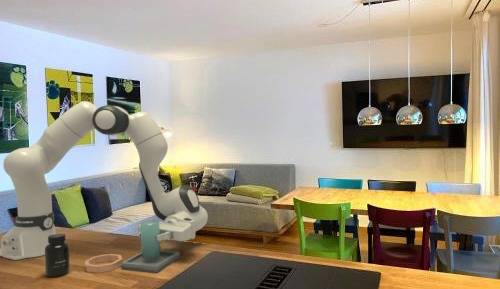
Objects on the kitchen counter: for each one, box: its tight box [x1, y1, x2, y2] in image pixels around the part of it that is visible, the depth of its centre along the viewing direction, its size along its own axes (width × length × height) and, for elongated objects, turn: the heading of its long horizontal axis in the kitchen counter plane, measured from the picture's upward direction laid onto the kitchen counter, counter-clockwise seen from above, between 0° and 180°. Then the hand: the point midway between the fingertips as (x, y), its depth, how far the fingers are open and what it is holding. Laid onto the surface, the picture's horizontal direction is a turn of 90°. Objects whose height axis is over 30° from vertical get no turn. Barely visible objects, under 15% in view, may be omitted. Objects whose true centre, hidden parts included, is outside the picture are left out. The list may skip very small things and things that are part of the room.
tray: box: [120, 249, 180, 274], centre depth 123 cm, size 13×14×2 cm
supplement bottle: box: [44, 233, 71, 278], centre depth 116 cm, size 7×7×12 cm
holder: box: [84, 253, 124, 274], centre depth 122 cm, size 11×11×2 cm
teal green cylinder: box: [139, 220, 161, 259], centre depth 123 cm, size 6×6×11 cm
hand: (148, 237), depth 122 cm, fingers closed on teal green cylinder, 6 cm apart
